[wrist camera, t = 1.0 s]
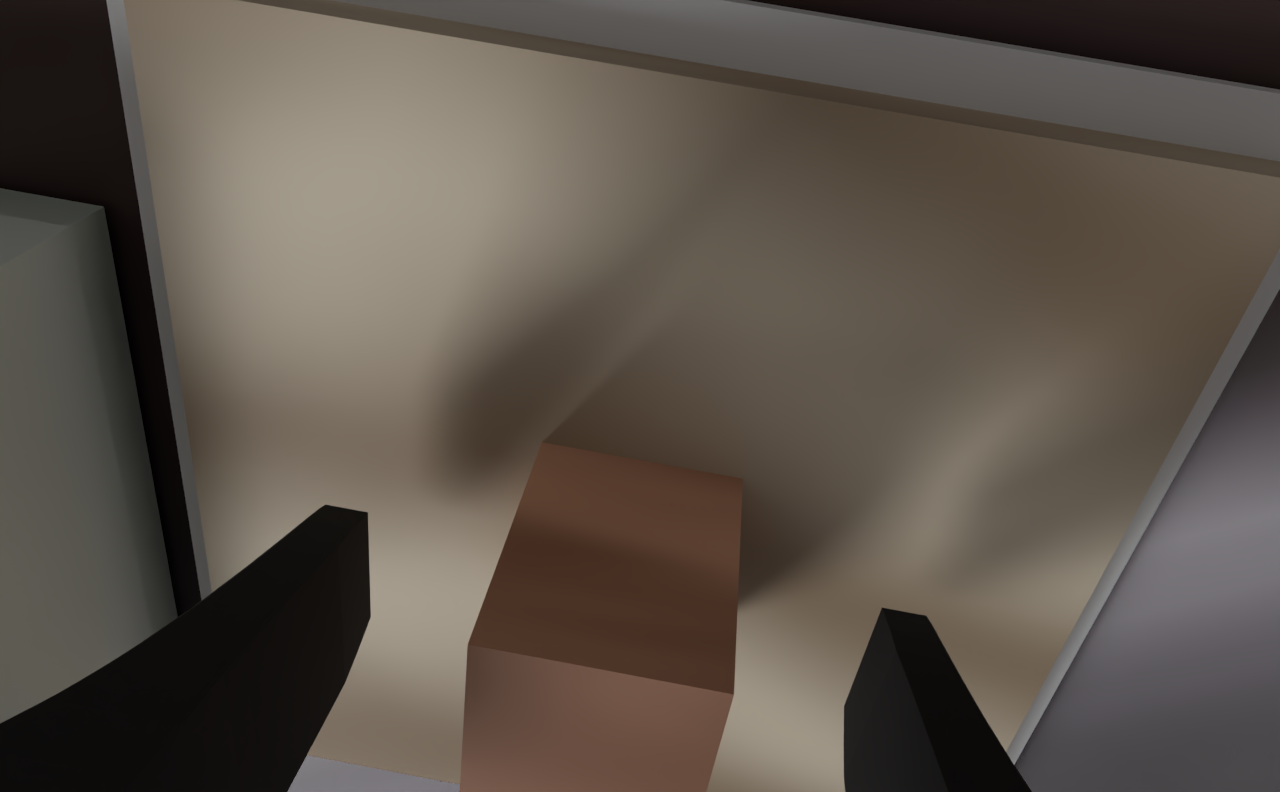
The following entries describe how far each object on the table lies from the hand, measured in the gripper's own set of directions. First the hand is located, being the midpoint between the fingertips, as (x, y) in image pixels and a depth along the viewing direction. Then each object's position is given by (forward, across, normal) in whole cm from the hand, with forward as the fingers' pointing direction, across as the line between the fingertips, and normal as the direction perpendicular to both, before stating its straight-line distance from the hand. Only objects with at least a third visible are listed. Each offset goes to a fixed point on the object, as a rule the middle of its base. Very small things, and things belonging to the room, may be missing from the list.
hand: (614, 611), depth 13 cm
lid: (+2, 0, 0) cm, 3 cm away
